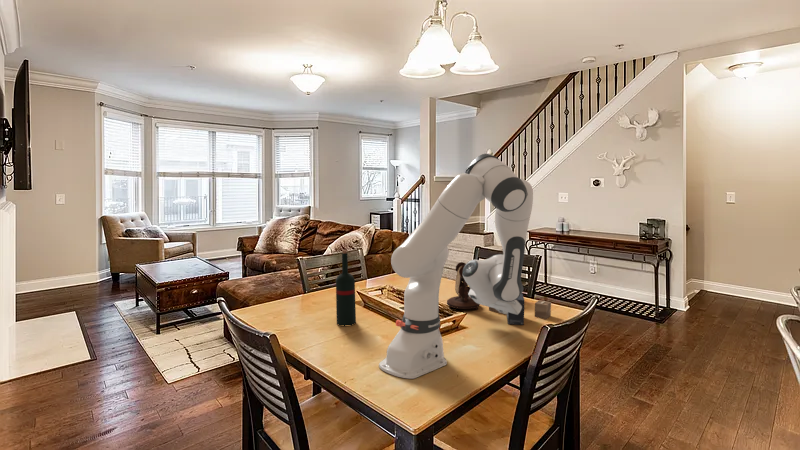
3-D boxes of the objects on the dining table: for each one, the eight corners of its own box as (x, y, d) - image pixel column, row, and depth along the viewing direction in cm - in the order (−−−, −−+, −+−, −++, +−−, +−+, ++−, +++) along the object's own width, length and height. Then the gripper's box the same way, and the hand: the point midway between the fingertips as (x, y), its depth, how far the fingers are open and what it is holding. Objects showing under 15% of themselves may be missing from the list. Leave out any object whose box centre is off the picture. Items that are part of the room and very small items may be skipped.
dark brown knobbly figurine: (443, 302, 195) (444, 261, 192) (474, 301, 196) (475, 260, 194) (450, 312, 180) (451, 267, 178) (483, 311, 181) (484, 266, 179)
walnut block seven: (499, 312, 180) (499, 298, 179) (488, 310, 183) (489, 296, 182) (504, 309, 184) (504, 296, 183) (493, 307, 187) (494, 294, 186)
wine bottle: (358, 317, 175) (356, 247, 171) (354, 326, 164) (353, 251, 161) (339, 317, 175) (337, 247, 171) (334, 326, 165) (332, 251, 161)
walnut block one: (546, 319, 171) (546, 304, 170) (534, 316, 174) (534, 302, 174) (550, 316, 175) (551, 301, 174) (538, 313, 178) (539, 299, 177)
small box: (524, 325, 164) (525, 299, 163) (507, 324, 165) (508, 299, 164) (522, 316, 174) (522, 292, 173) (506, 316, 175) (506, 291, 174)
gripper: (516, 291, 149) (530, 311, 157) (471, 280, 165) (487, 300, 172) (508, 305, 147) (523, 325, 154) (464, 293, 163) (480, 312, 170)
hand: (504, 312), depth 164 cm, fingers closed
